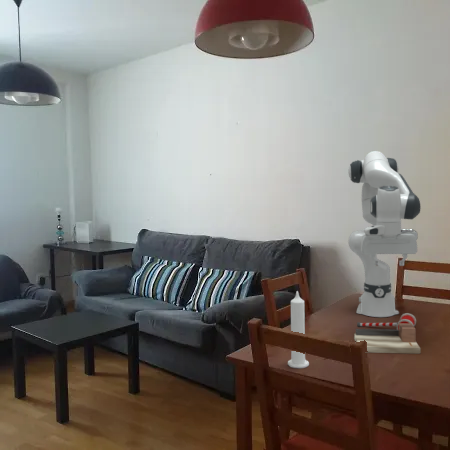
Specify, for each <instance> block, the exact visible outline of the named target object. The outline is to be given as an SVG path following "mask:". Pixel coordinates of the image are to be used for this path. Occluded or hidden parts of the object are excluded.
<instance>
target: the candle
mask: <svg viewBox="0 0 450 450" xmlns="http://www.w3.org/2000/svg"><path fill="white" fill-rule="evenodd" d="M305 323H306V322H305V300H304V299H302V298H301V297H300V293H299V291H298V290H297V291H296V293H295V296H294V298H293V299H291V300H290V332H291V331H293V332H299V333H303V334H305V335H306V333H305V331H306V329H305V326H306V325H305ZM290 353H291V359H289V360H288V361H287V365H288V366H289V367H290V368H293V369H304V368H307V367H309V365H310V362H309V361H308V360H307V359H306V353H305V354H303V353H300V352H296V351H291V352H290Z"/></svg>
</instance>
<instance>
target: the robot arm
mask: <svg viewBox="0 0 450 450" xmlns="http://www.w3.org/2000/svg"><path fill="white" fill-rule="evenodd" d="M348 177H349V179H350V181H351V182H352V183H353V184H360V183H363V184H362V187H361V211H362V217H363V220H365V222H366V223H368V224H370V226H368V227H365V228H364V229H359V230H354V231H352V232H351V233H350V235H349V237H348V241H347V242H348V247H349V248H350V251H352V252H353V253H355V254H356V255H357V256H358V257H359V259H360V260H361V262H362V265H363V268H364V269H363V270H364V283H363V291H364V292H363V293H362V294H361V295H360V296H359V297H358V302H359V304H358V306H357V309H356V314H360V315H364V316H369V317H373V318H374V317H375V318H387V317H388V318H389V317H393V316H396V315H399V314H400V311H399V310H398V309H396V304H395V302H396V301H395V300H396V299H395V295H394V294H393V293H392V284H391V268H390V265H389V264H388V263H387V262H385V261H383V260H381V259H378V257H377V255H402V258H401V260H398V263H399V267H404V266H405V261H406V260H407V258H408V255H416V253H418V243H417V242H418V241H417V240H418V237H419V236H418V231H417V230H415V229H413V228H409V229H407V228H402V220H414V219H416V218H417V216H419V214H420V213H421V202H420V201H421V200H420V198H419V197H418V195H416V193H415V192H414V191H413V189H412V188H411V187H410V185H409V184H408V182H407V181H406V179H405V178H404V176H403V175H402V174H401V173H399V165H398V162H397V160H396V159H395V158H392V157H386V155H385V154H384V153H383V152H382V151H379V150H374V151H373V150H372V151H370V152H368V153H367V154H366V155H365V156H364V159H361V160H358V159H357V160H354V161H352V162H351V163H350V164H349V167H348Z"/></svg>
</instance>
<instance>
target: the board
mask: <svg viewBox="0 0 450 450" xmlns="http://www.w3.org/2000/svg"><path fill="white" fill-rule="evenodd" d="M353 335H354V336H353V339H354V342H355V341H356V342H360V341H364V340H365V341H366V342H367V351H368V352H367V353H375V354H376V353H379V354H380V353H381V354H382V353H383V354H385V353H386V354H411V355H413V354H421V347H420V345H419V344H418V343H417V341H416V340H415V342H402V340H401V339H400V337H399V330H397V329H386V328H385V329H384V328H383V329H382V328H381V329H380V328H379V329H378V328H355V333H353ZM356 342H355V343H356Z"/></svg>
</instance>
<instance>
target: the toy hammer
mask: <svg viewBox="0 0 450 450" xmlns="http://www.w3.org/2000/svg"><path fill="white" fill-rule="evenodd" d="M399 323H411V324H412V325H413V326H414V327H415V326H416V324H417V319H416V316H415V315H413V314H412V313H409V312H406V313H402V315H401V316H400V318H399V321H397V322H359V321H357V322H356V327H358V328H361V327H396V330H399Z"/></svg>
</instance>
